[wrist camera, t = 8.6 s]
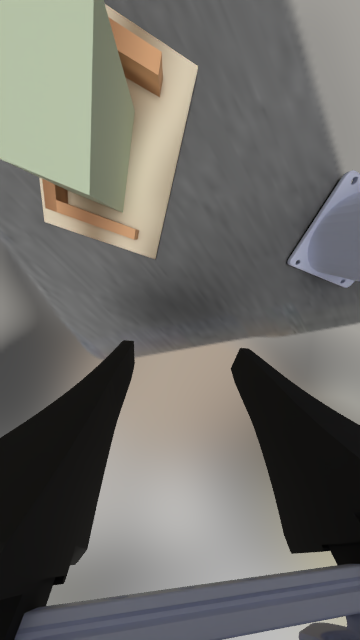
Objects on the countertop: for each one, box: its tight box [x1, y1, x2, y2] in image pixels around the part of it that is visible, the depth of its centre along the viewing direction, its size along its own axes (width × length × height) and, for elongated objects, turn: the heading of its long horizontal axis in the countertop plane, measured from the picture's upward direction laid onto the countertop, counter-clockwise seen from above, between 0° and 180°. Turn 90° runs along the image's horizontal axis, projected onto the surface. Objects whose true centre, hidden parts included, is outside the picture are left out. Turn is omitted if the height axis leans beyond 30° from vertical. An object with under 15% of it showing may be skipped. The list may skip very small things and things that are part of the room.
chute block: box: [0, 0, 135, 213], centre depth 8 cm, size 4×6×6 cm, turn 161°
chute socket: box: [39, 4, 198, 259], centre depth 10 cm, size 10×12×2 cm
